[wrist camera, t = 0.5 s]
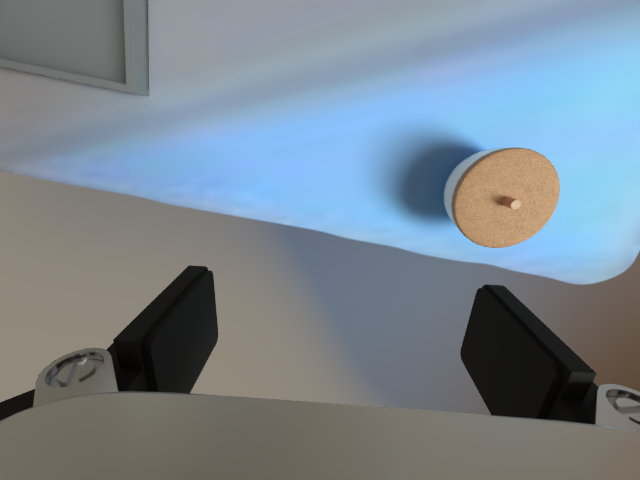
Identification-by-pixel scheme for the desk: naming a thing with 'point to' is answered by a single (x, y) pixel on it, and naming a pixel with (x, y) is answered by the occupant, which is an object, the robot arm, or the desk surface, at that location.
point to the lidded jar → (501, 195)
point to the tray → (78, 41)
